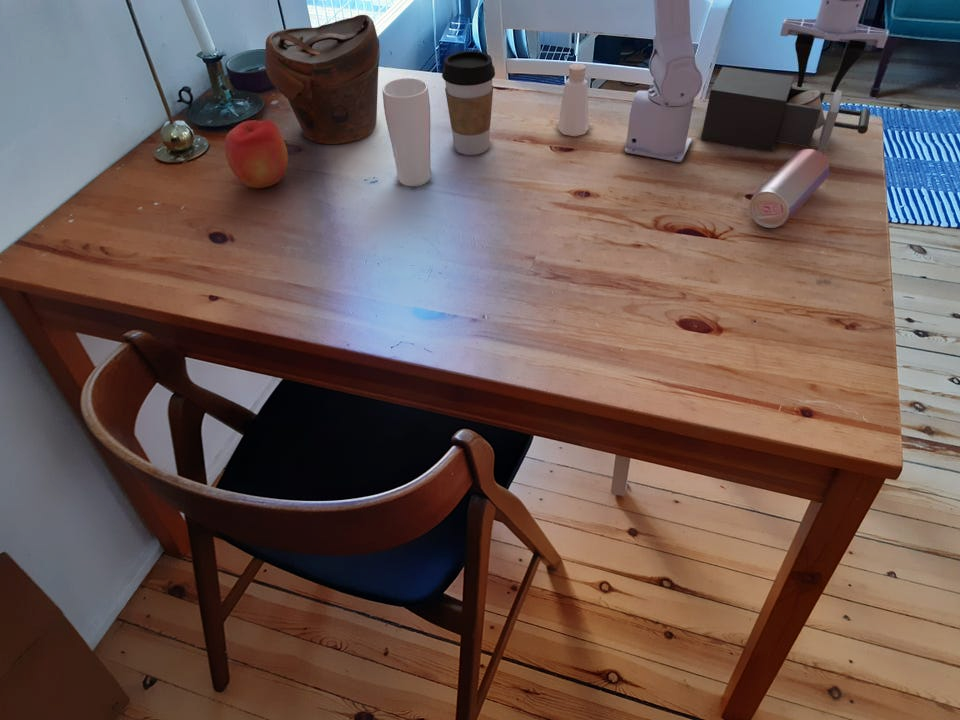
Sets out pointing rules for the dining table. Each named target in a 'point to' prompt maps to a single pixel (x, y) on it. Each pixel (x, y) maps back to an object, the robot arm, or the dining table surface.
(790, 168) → the beverage can
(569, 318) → the dining table surface
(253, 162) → the apple
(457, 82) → the coffee cup
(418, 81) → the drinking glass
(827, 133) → the drawer
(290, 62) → the case
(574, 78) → the pepper shaker
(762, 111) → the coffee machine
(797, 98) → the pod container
